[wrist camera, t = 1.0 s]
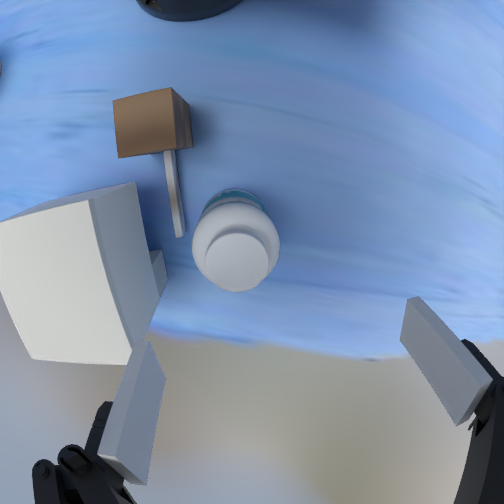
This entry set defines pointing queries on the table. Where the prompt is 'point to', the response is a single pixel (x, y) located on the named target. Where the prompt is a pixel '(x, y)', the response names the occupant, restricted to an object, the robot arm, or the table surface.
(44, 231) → the cabinet
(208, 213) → the pill bottle
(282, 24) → the table surface
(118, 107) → the wood grain block
